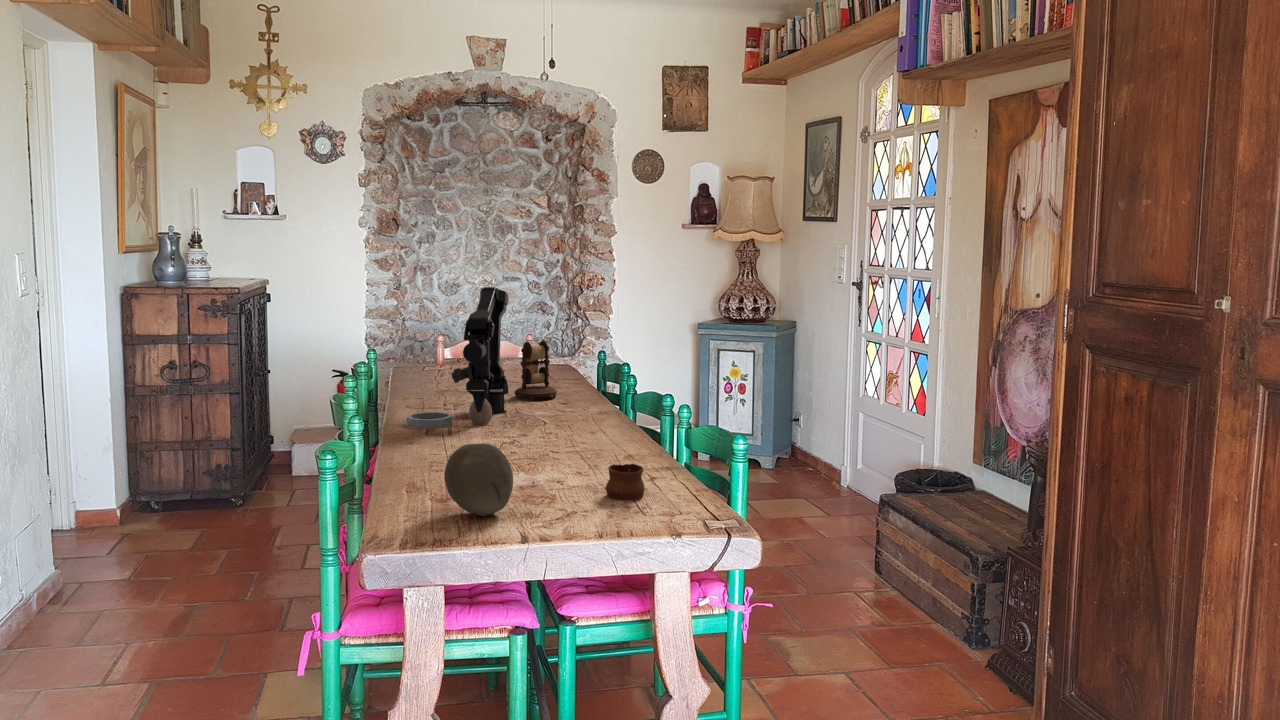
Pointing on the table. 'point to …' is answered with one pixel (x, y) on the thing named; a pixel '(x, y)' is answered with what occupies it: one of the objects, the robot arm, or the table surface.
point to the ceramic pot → (625, 482)
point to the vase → (480, 414)
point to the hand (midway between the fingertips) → (480, 409)
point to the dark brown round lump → (479, 478)
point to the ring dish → (430, 420)
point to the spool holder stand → (535, 372)
